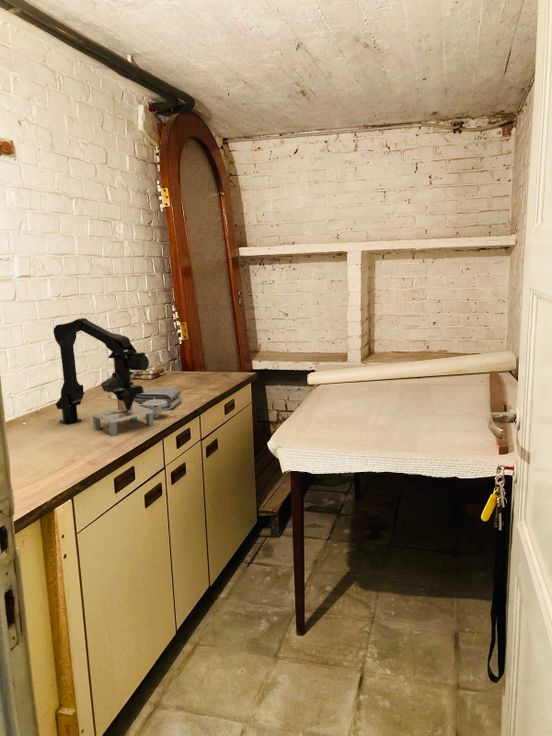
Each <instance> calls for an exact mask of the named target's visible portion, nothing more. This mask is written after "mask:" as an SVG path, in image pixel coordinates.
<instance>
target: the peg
mask: <svg viewBox="0 0 552 736" xmlns="http://www.w3.org/2000/svg"><path fill="white" fill-rule="evenodd" d="M116 401H117V408H118V410H121V411H123V412H128V410H127V408H126V403H125V398H122V399H116ZM131 409H133V406H131V408H130V410H131ZM125 420H127V419H125ZM125 420H124V421H125ZM128 420H130V418H129V419H128Z"/></svg>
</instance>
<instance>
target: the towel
mask: <svg viewBox="0 0 552 736" xmlns="http://www.w3.org/2000/svg"><path fill="white" fill-rule="evenodd" d="M181 393H182V391H181V389H179V388H177V387H174V386H171V387H170V386H169V387H168V386H167V387H162V388H153V389H151V388H150V389H143V393H141V394H137V395H136V397H135V399H134V401H133V403H136V404H135V405H138V406H141V407H143V403H144V402H145V401H148V400H154V398H155V399H161V400H162V399H163V400H166V401H167V405H166V406H164V407H161V410H162V411H169V410H171V409H174V407H176V405H178V404H179V403H181V402H182V399H181V396H180V395H181ZM144 408H145V407H144ZM148 409H149V408H148Z"/></svg>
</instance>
